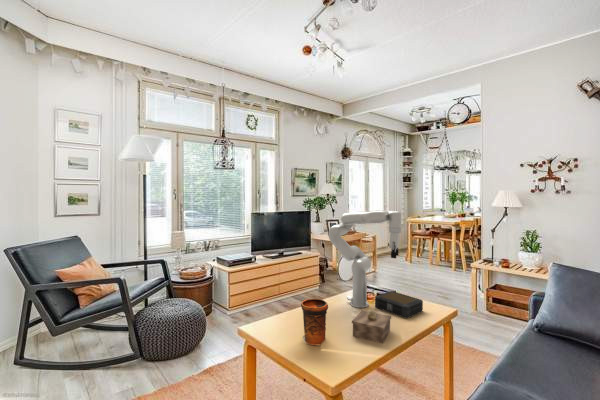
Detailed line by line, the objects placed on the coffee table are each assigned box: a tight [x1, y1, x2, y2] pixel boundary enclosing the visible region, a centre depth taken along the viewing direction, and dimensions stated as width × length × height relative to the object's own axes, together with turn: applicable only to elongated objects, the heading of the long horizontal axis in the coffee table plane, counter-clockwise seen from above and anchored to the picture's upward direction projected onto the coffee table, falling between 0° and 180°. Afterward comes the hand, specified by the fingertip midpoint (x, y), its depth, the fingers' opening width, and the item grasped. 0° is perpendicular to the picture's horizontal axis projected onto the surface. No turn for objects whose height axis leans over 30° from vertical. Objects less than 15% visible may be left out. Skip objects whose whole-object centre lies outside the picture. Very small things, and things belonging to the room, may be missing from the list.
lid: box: [351, 309, 392, 330], centre depth 167 cm, size 17×17×5 cm
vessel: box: [300, 298, 329, 347], centre depth 162 cm, size 14×14×20 cm
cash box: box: [374, 290, 424, 319], centre depth 204 cm, size 25×20×8 cm
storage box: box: [352, 320, 391, 344], centre depth 167 cm, size 16×16×8 cm
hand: (394, 256), depth 198 cm, fingers open, 9 cm apart
